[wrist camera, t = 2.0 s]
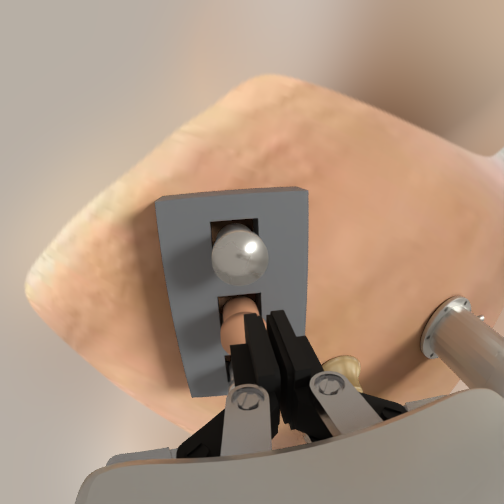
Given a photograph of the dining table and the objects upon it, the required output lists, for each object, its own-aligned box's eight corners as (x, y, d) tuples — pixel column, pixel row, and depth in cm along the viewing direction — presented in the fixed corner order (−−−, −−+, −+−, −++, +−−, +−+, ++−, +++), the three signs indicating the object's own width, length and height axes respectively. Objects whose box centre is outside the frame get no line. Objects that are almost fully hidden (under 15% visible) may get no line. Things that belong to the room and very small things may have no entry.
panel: (296, 186, 29) (308, 190, 26) (293, 365, 37) (301, 384, 33) (162, 196, 28) (154, 201, 24) (192, 377, 35) (191, 397, 32)
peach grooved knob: (260, 290, 29) (269, 315, 24) (261, 326, 30) (270, 355, 25) (216, 294, 28) (218, 321, 23) (221, 331, 29) (223, 360, 25)
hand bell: (356, 346, 38) (410, 423, 23) (362, 379, 41) (407, 449, 26) (304, 370, 38) (343, 458, 23) (317, 401, 41) (351, 478, 25)
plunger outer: (257, 217, 26) (267, 229, 21) (259, 261, 28) (269, 283, 23) (209, 220, 26) (209, 234, 21) (213, 266, 27) (214, 288, 22)
